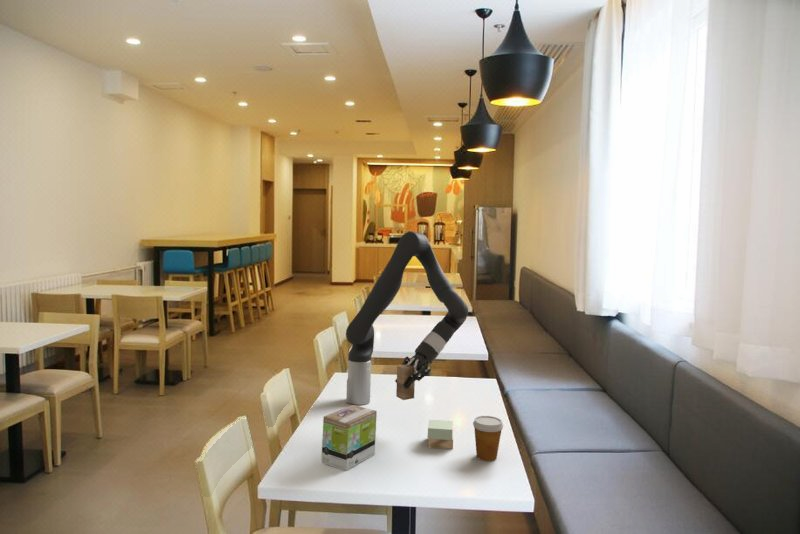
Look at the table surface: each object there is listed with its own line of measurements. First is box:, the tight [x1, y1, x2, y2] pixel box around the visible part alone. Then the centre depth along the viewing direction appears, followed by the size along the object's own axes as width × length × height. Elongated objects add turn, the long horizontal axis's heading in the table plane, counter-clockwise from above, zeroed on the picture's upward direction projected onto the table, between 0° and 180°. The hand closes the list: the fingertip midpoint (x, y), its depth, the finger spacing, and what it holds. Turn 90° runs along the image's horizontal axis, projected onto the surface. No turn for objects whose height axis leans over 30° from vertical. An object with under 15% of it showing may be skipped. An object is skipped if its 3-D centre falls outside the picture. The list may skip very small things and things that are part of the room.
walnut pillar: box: [395, 364, 416, 401], centre depth 200 cm, size 4×4×11 cm
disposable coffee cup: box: [472, 415, 504, 462], centre depth 183 cm, size 10×10×12 cm
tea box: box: [320, 404, 378, 472], centre depth 178 cm, size 15×10×15 cm, turn 148°
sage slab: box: [427, 419, 454, 440], centre depth 192 cm, size 8×8×4 cm
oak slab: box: [427, 430, 454, 450], centre depth 193 cm, size 8×8×4 cm
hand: (401, 385), depth 199 cm, fingers closed on walnut pillar, 4 cm apart
